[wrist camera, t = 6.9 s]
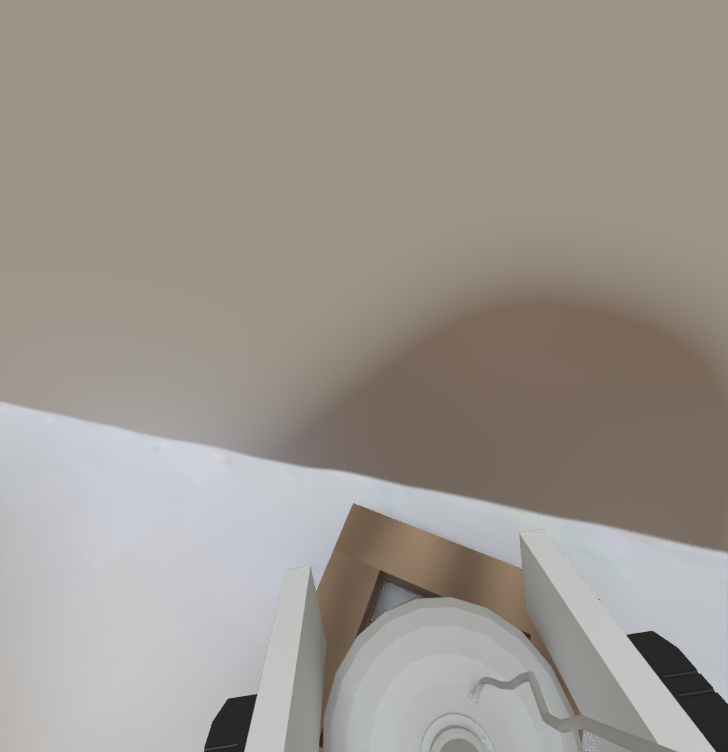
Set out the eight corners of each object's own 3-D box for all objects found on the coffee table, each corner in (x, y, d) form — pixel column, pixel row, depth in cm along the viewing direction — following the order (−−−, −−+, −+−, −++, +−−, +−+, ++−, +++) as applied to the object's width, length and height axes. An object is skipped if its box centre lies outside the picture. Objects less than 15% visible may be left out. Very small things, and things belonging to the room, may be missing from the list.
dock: (261, 767, 29) (234, 787, 24) (360, 520, 36) (353, 503, 32) (526, 932, 24) (549, 991, 20) (575, 606, 32) (599, 599, 27)
